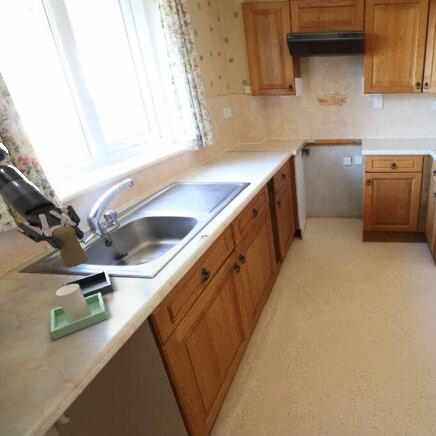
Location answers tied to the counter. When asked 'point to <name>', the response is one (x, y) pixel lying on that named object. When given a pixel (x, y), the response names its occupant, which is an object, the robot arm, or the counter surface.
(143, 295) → the counter surface
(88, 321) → the light tray
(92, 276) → the dark tray
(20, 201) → the robot arm
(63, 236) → the cork
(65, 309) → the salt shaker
